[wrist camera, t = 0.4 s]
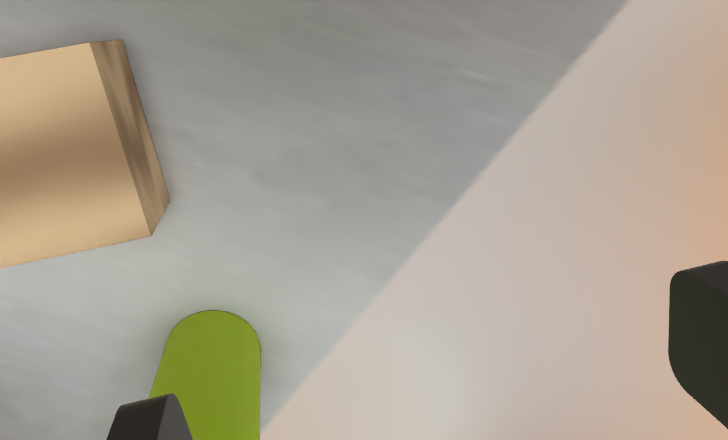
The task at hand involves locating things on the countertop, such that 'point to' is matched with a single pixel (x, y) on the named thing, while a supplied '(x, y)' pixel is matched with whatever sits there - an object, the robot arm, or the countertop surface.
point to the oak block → (74, 154)
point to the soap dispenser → (213, 375)
